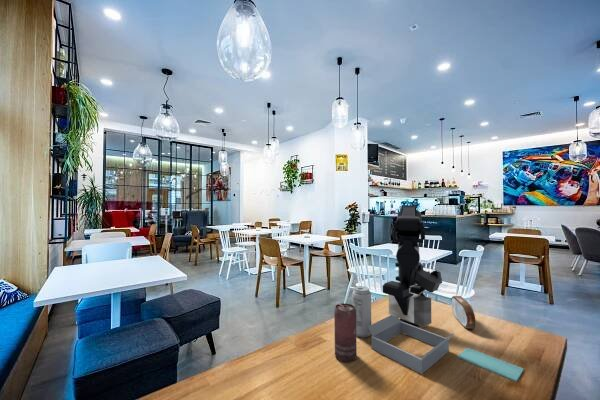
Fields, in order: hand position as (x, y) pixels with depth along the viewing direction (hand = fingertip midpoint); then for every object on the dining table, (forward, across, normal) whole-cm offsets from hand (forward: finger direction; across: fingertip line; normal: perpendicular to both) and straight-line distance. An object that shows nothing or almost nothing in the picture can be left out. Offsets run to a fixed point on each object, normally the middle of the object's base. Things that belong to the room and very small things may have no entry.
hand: (409, 313), depth 78 cm
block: (+2, 0, 0) cm, 2 cm away
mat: (+11, +10, -17) cm, 23 cm away
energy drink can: (+11, -3, +15) cm, 19 cm away
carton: (+11, 0, 0) cm, 11 cm away
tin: (+11, +31, -3) cm, 33 cm away
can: (+11, -17, +10) cm, 23 cm away
